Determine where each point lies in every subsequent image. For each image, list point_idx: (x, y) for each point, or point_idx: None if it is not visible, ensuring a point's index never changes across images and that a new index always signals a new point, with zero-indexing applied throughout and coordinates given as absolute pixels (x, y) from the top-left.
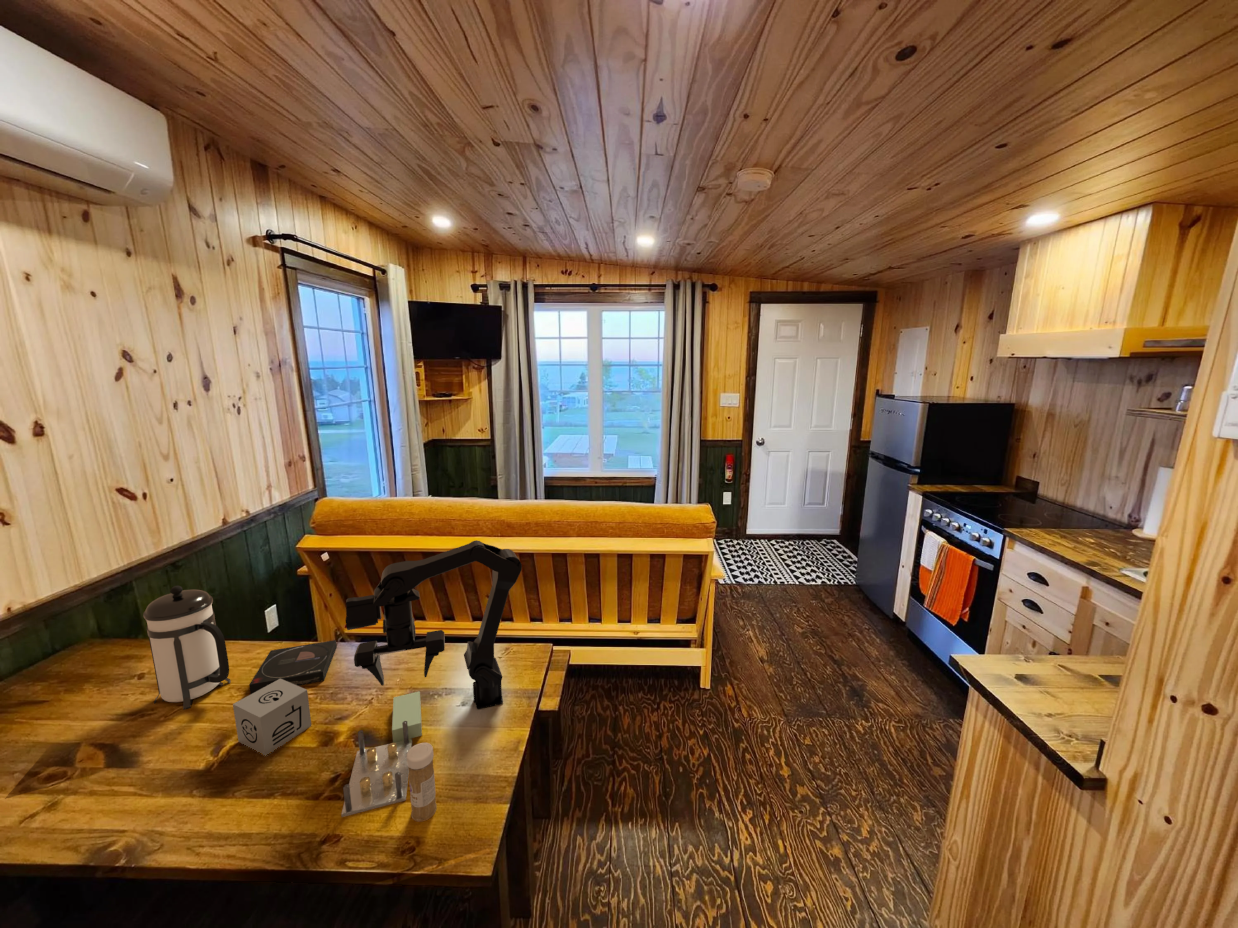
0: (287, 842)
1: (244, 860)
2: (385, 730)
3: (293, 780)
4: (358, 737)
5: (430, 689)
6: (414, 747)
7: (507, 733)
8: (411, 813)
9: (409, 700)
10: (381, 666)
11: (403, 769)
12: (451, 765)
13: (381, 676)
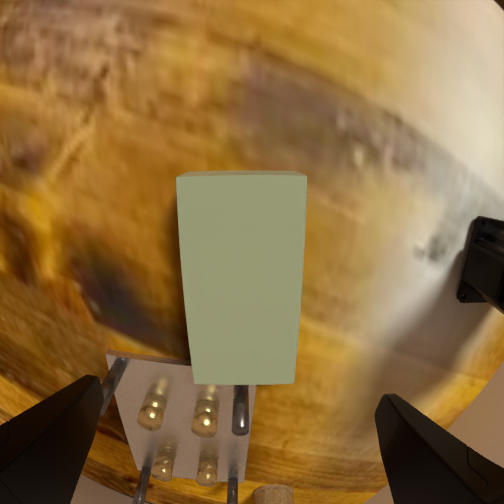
0: None
1: None
2: (167, 287)
3: (14, 358)
4: None
5: (339, 95)
6: None
7: (462, 391)
8: (253, 495)
9: (254, 233)
10: (27, 452)
11: (236, 443)
12: (337, 445)
13: (77, 466)
